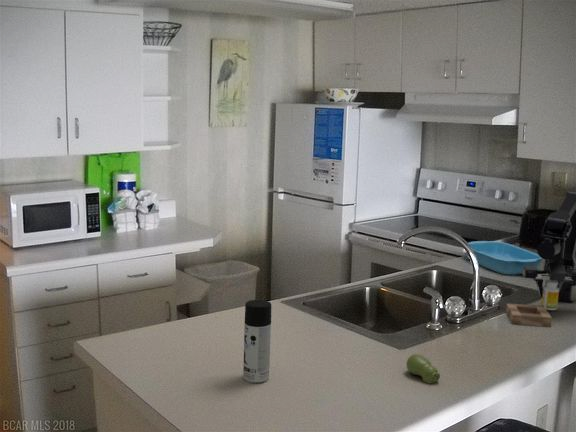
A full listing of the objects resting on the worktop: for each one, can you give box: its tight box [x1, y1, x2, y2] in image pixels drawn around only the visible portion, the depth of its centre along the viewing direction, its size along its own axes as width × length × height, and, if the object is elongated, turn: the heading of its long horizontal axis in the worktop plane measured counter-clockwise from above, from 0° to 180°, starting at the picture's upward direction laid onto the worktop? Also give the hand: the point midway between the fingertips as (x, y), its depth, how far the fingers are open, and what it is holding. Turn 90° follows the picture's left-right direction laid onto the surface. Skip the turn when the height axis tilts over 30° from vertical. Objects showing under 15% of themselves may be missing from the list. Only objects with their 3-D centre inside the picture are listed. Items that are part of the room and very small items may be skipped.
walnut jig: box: [505, 302, 553, 328], centre depth 227 cm, size 12×12×3 cm
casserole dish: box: [465, 240, 543, 276], centre depth 292 cm, size 37×22×7 cm, turn 20°
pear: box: [405, 353, 441, 385], centre depth 180 cm, size 6×5×10 cm
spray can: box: [242, 299, 272, 384], centre depth 175 cm, size 7×7×20 cm
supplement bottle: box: [539, 278, 559, 311], centre depth 236 cm, size 5×5×10 cm
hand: (549, 298), depth 236 cm, fingers closed on supplement bottle, 5 cm apart
